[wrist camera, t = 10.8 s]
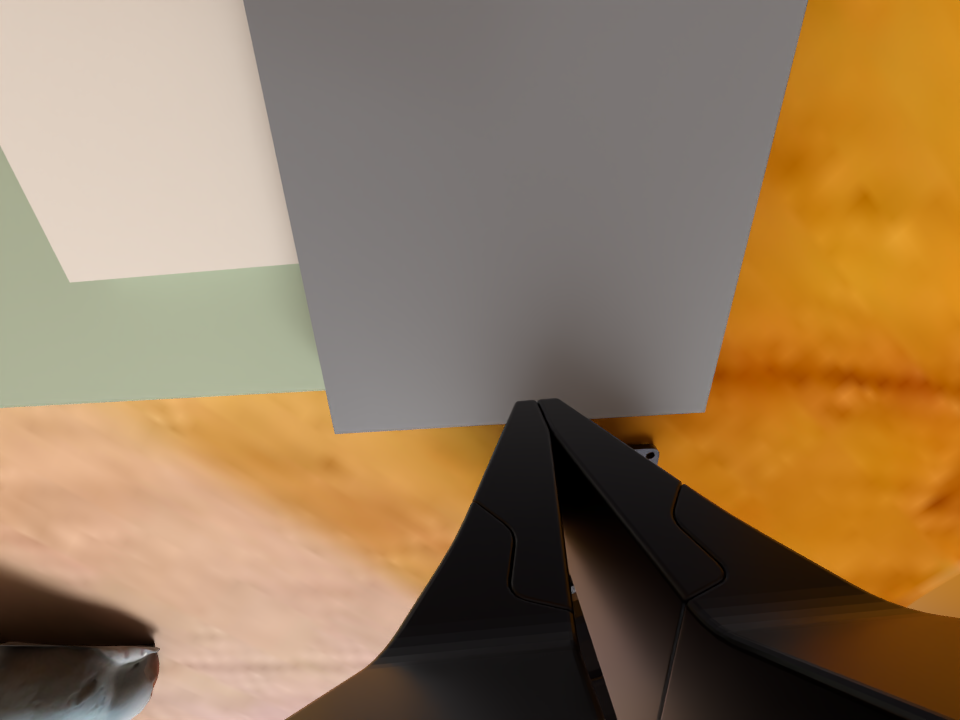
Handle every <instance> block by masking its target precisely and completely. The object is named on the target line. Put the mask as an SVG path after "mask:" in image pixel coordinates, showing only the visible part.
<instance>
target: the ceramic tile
mask: <svg viewBox="0 0 960 720" xmlns="http://www.w3.org/2000/svg"><path fill="white" fill-rule="evenodd" d="M0 146H1V148H2V150H3V152H4V154H5V156H6V158H7V160H8V162H9V164H10V166H11V168H12V170H13V172H14V174H15V176H16V178H17V180H18V182H19V184H20V186H21V188H22V190H23V192H24V194H25V195H26V197H27V199H28V201H29V203H30V205H31V207H32V209H33V211H34V213H35V215H36V217H37V219H38V221H39V223H40V225H41V227H42V229H43V231H44V233H45V235H46V237H47V239H48V241H49V243H50V245H51V247H52V249H53V251H54V253H55V254H56V256H57V258H58V260H59V262H60V264H61V266H62V268H63V270H64V272H65V274H66V276H67V278H68V280H69V282H70V283H71V282H83V281H95V280H107V279H119V278H131V277H143V276H155V275H167V274H179V273H191V272H203V271H215V270H227V269H239V268H251V267H263V266H275V265H287V264H299V262H298V257H297V253H296V248H295V243H294V238H293V234H292V229H291V224H290V220H289V215H288V210H287V205H286V201H285V196H284V191H283V186H282V182H281V177H280V172H279V168H278V163H277V158H276V153H275V149H274V144H273V139H272V134H271V130H270V125H269V120H268V116H267V111H266V106H265V101H264V97H263V92H262V87H261V83H260V78H259V73H258V68H257V64H256V59H255V54H254V49H253V45H252V40H251V35H250V31H249V26H248V21H247V16H246V12H245V7H244V2H243V0H0Z"/></svg>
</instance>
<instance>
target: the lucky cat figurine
mask: <svg viewBox="0 0 960 720" xmlns="http://www.w3.org/2000/svg"><path fill="white" fill-rule="evenodd" d="M159 650H160V648H155V643H154V644H150V645H139V646H64V645H45V644H34V643H23V642H7V643H4V644H0V720H131V719H132V718H133V717H135V716H136V715H137V714H139V713H140V712H141V711H142V710H143V708H144V707H145V705H146V704H147V703H148V701H149V700H150V698H151V696H152V691H153V688H154V685H155V683H156V680H157V677H158V673H159V660H158V656H157V653H156V652H158V651H159Z"/></svg>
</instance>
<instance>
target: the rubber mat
mask: <svg viewBox="0 0 960 720" xmlns="http://www.w3.org/2000/svg"><path fill="white" fill-rule="evenodd" d="M322 390H325V385H324V380H323V375H322V371H321V366H320V361H319V356H318V352H317V347H316V342H315V338H314V333H313V328H312V323H311V319H310V314H309V309H308V305H307V300H306V295H305V290H304V286H303V281H302V276H301V271H300V267H299V264H287V265H275V266H263V267H251V268H239V269H227V270H215V271H203V272H191V273H179V274H167V275H155V276H143V277H131V278H119V279H107V280H95V281H83V282H71V283H70V282H69V280H68V278H67V276H66V274H65V272H64V270H63V268H62V266H61V264H60V262H59V260H58V258H57V256H56V254H55V253H54V251H53V249H52V247H51V245H50V243H49V241H48V239H47V237H46V235H45V233H44V231H43V229H42V227H41V225H40V223H39V221H38V219H37V217H36V215H35V213H34V211H33V209H32V207H31V205H30V203H29V201H28V199H27V197H26V195H25V194H24V192H23V190H22V188H21V186H20V184H19V182H18V180H17V178H16V176H15V174H14V172H13V170H12V168H11V166H10V164H9V162H8V160H7V158H6V156H5V154H4V152H3V150H2V148H1V146H0V408H7V407H25V406H44V405H62V404H81V403H99V402H118V401H136V400H155V399H173V398H192V397H210V396H229V395H248V394H266V393H285V392H303V391H322Z"/></svg>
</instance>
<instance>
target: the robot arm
mask: <svg viewBox="0 0 960 720" xmlns="http://www.w3.org/2000/svg"><path fill="white" fill-rule="evenodd" d="M649 452H651V453H650V454H647V453H649ZM646 454H647V455H646ZM658 458H659V452H658V450H657V448H656V447H655V446H654V445H652V444H640V445H626V444H625V443H624V442H622V441H621V440H619V439H618V438H616V437H615V436H613V435H612V434H610V433H609V432H607V431H606V430H604V429H603V428H601V427H600V426H599V425H597V424H596V423H594V422H593V421H591V420H590V419H588V418H587V417H585V416H584V415H582V414H581V413H579V412H578V411H576V410H575V409H573V408H572V407H571V406H569V405H568V404H566V403H565V402H563V401H562V400H560V399H558V398H548V399H540V400H538V401H537V402H536V401H535V400H523V401H517V402H515V404H514V406H513V408H512V411H511V413H510V415H509V418H508V420H507V422H506V425H505V427H504V429H503V432H502V434H501V436H500V439H499V441H498V443H497V445H496V448H495V450H494V452H493V455H492V457H491V459H490V462H489V464H488V466H487V469H486V471H485V473H484V475H483V478H482V480H481V482H480V485H479V487H478V489H477V492H476V494H475V496H474V499H473V502H472V503H471V505H470V507H469V510H468V512H467V514H466V516H465V519H464V521H463V523H462V525H461V527H460V529H459V531H458V533H457V535H456V537H455V539H454V541H453V543H452V544H451V546H450V548H449V550H448V551H447V553H446V555H445V556H444V558H443V560H442V561H441V563H440V565H439V566H438V568H437V570H436V571H435V573H434V574H433V576H432V577H431V579H430V581H429V582H428V584H427V585H426V587H425V588H424V590H423V592H422V593H421V595H420V596H419V598H418V599H417V601H416V603H415V604H414V606H413V607H412V609H411V610H410V612H409V614H408V615H407V617H406V618H405V620H404V621H403V623H402V625H401V626H400V628H399V629H398V631H397V632H396V634H395V635H394V637H393V638H392V640H391V641H390V642H389V644H388V645H387V646H386V647H385V649H384V650H383V651H382V652H381V653H380V654H379V655H378V656H377V657H376V659H375V660H374V661H372V662H371V663H370V664H369V665H368V666H367V667H366V668H364V669H363V670H361V671H360V672H358V673H357V674H355V675H354V676H352V677H350V678H349V679H347V680H346V681H344V682H343V683H341V684H340V685H338V686H336V687H335V688H333V689H332V690H330V691H329V692H327V693H326V694H324V695H322V696H321V697H319V698H318V699H316V700H315V701H313V702H311V703H310V704H308V705H307V706H305V707H304V708H302V709H301V710H299V711H297V712H296V713H294V714H293V715H291V716H290V717H288V718H287V719H285V720H960V618H955V617H948V616H941V615H935V614H930V613H925V612H921V611H917V610H913V609H909V608H906V607H903V606H900V605H897V604H894V603H892V602H889V601H886V600H884V599H882V598H879V597H877V596H875V595H873V594H870V593H868V592H867V591H865V590H863V589H861V588H859V587H857V586H855V585H853V584H851V583H850V582H848V581H846V580H844V579H843V578H841V577H839V576H837V575H836V574H834V573H832V572H830V571H829V570H827V569H825V568H823V567H822V566H820V565H818V564H816V563H814V562H813V561H811V560H809V559H807V558H806V557H804V556H802V555H800V554H799V553H797V552H795V551H793V550H792V549H790V548H788V547H786V546H785V545H783V544H781V543H779V542H777V541H776V540H774V539H772V538H770V537H769V536H767V535H765V534H763V533H762V532H760V531H758V530H757V529H755V528H753V527H752V526H750V525H748V524H747V523H745V522H743V521H741V520H740V519H738V518H736V517H735V516H733V515H731V514H730V513H728V512H727V511H725V510H723V509H722V508H720V507H719V506H717V505H716V504H714V503H713V502H711V501H710V500H708V499H706V498H705V497H703V496H702V495H700V494H699V493H697V492H696V491H694V490H693V489H692V488H690V487H689V486H687V485H686V484H683V485H682V482H681V481H679V480H678V479H677V478H675V477H674V476H672V475H671V474H669V473H668V472H666V471H665V470H663V469H662V468H660V467H659V466H657V463H658Z"/></svg>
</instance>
